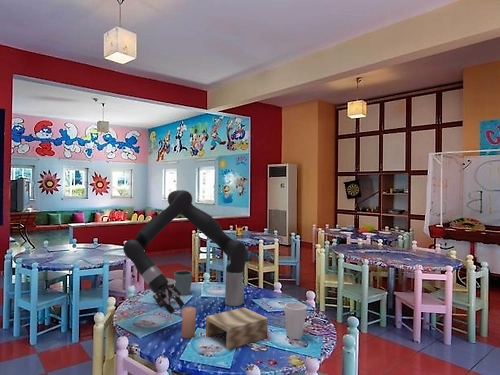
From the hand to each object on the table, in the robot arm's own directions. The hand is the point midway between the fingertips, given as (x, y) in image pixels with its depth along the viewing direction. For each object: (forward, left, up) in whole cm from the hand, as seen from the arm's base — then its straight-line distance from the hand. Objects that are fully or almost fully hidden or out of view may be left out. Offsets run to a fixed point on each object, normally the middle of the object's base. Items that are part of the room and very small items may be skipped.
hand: (178, 309), depth 149 cm
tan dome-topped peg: (-3, +4, -10) cm, 11 cm away
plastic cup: (-13, -38, -10) cm, 41 cm away
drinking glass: (-29, -48, -10) cm, 57 cm away
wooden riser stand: (-19, +16, -10) cm, 27 cm away
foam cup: (-39, +30, -10) cm, 50 cm away
